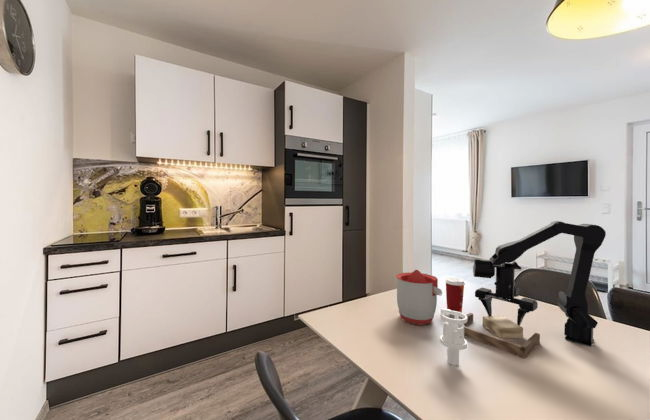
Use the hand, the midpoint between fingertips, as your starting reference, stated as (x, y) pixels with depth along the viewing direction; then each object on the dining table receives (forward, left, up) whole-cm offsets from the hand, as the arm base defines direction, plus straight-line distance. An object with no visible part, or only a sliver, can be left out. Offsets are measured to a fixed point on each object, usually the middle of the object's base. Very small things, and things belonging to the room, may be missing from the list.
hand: (503, 321), depth 101 cm
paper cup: (+19, -1, -3) cm, 19 cm away
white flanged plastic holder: (+1, +36, -3) cm, 37 cm away
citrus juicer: (+24, +18, -3) cm, 30 cm away
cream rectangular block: (0, +3, -3) cm, 4 cm away
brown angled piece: (0, +9, -3) cm, 10 cm away
